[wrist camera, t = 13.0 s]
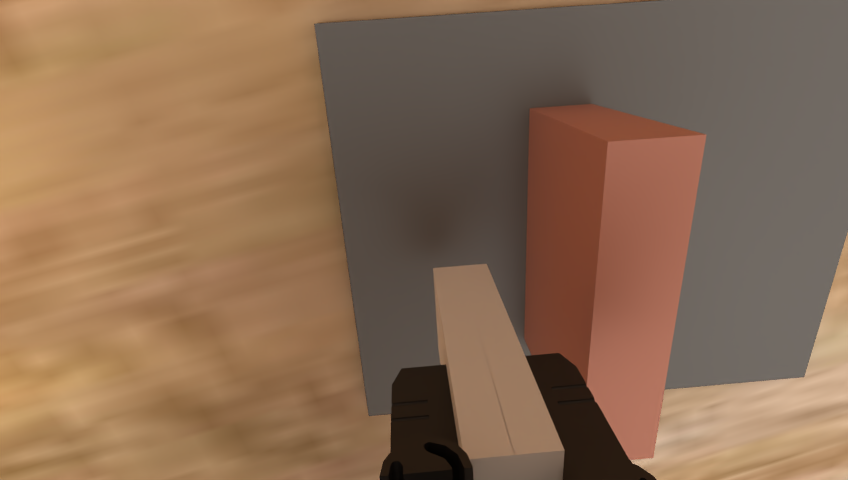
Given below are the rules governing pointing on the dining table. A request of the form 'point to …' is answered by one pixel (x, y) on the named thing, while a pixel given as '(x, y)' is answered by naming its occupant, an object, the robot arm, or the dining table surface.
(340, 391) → the dining table surface
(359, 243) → the mat
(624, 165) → the card box
